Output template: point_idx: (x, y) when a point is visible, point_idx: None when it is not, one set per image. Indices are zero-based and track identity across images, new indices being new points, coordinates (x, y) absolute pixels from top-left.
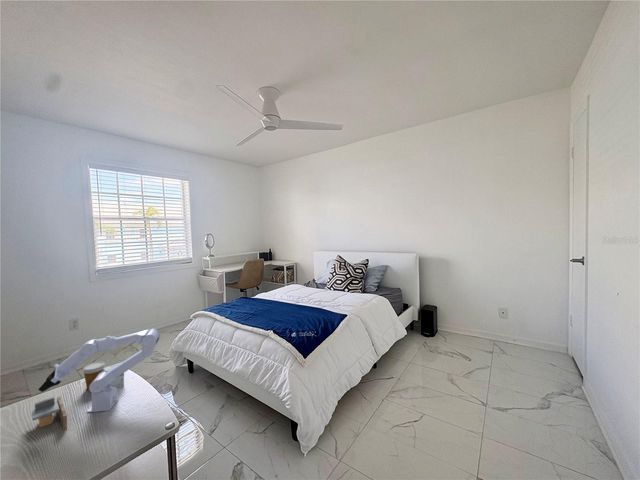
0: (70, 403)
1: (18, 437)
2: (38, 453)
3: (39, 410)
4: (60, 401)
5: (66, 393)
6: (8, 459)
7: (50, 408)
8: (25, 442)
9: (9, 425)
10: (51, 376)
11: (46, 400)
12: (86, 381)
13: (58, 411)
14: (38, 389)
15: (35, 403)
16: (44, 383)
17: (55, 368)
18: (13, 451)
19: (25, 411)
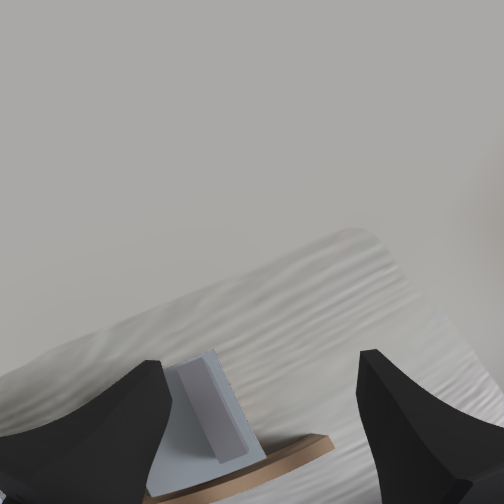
0: (352, 469)
1: (132, 353)
2: None
3: (184, 396)
4: (251, 481)
5: (457, 391)
6: (24, 365)
7: (179, 451)
8: (84, 390)
9: (253, 278)
10: (28, 499)
11: (206, 422)
12: None
13: (274, 453)
14: (145, 361)
15: (195, 362)
16: (76, 416)
17: (430, 449)
18: (53, 367)
19: (351, 287)
